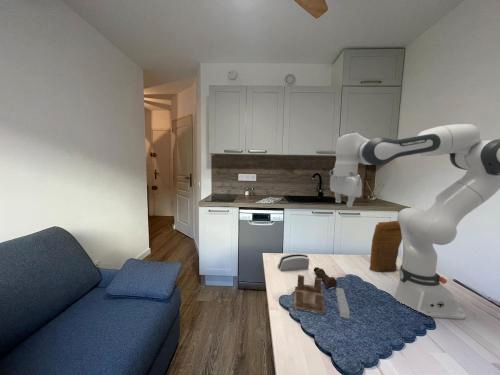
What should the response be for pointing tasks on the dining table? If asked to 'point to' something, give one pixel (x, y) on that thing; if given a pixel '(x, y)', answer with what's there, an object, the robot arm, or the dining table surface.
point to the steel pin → (342, 303)
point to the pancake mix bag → (385, 246)
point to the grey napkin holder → (294, 261)
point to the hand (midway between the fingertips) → (343, 204)
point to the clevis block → (309, 296)
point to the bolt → (325, 277)
